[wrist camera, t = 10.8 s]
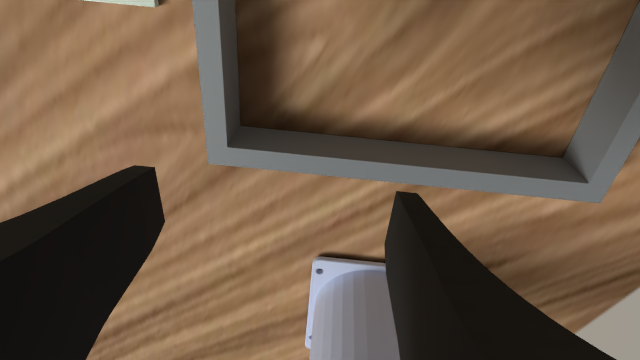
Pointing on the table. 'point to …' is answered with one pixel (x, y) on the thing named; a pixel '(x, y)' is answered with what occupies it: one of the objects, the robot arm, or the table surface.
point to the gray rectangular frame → (411, 158)
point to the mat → (132, 2)
